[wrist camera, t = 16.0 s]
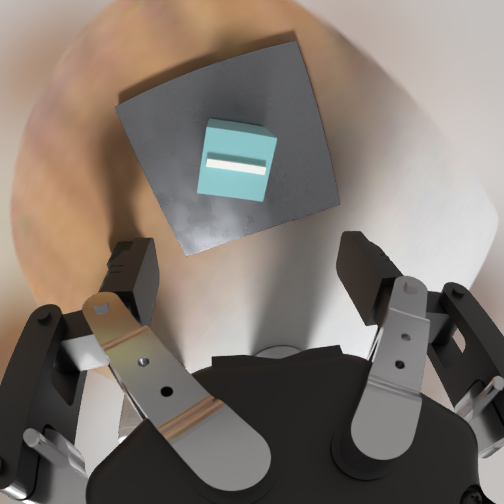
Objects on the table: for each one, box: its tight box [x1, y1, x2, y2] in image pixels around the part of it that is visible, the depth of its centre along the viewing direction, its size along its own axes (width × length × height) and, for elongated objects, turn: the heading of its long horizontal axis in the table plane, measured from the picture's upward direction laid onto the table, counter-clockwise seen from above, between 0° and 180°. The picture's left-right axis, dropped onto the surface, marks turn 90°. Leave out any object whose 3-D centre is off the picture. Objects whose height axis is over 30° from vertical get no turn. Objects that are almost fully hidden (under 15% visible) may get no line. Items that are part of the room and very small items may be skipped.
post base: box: [115, 41, 340, 257], centre depth 26 cm, size 18×18×6 cm
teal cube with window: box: [197, 118, 277, 202], centre depth 24 cm, size 5×5×6 cm
